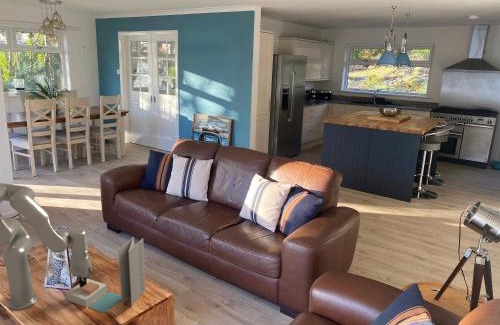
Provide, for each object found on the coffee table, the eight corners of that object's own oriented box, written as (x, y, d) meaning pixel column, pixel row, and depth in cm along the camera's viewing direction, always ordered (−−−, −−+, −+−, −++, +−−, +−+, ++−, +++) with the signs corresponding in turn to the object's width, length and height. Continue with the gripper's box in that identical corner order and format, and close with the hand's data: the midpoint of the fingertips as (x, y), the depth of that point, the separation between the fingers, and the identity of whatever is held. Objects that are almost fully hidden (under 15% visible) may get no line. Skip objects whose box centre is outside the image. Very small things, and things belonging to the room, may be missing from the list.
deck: (66, 300, 188) (65, 293, 187) (88, 285, 200) (87, 278, 199) (86, 307, 183) (85, 299, 182) (107, 291, 196) (106, 284, 195)
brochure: (132, 306, 185) (128, 251, 177) (121, 304, 186) (118, 250, 178) (145, 289, 198) (143, 238, 190) (135, 288, 199) (133, 236, 191)
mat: (88, 307, 183) (88, 307, 183) (108, 291, 195) (108, 291, 195) (104, 313, 179) (104, 312, 179) (124, 297, 192) (124, 296, 192)
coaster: (81, 291, 188) (80, 288, 188) (90, 285, 194) (89, 281, 193) (90, 294, 186) (90, 291, 186) (99, 288, 192) (99, 284, 191)
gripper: (62, 254, 186) (66, 286, 191) (85, 260, 181) (89, 293, 186) (74, 247, 193) (77, 278, 198) (97, 253, 187) (100, 285, 192)
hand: (83, 285), depth 192 cm, fingers closed
